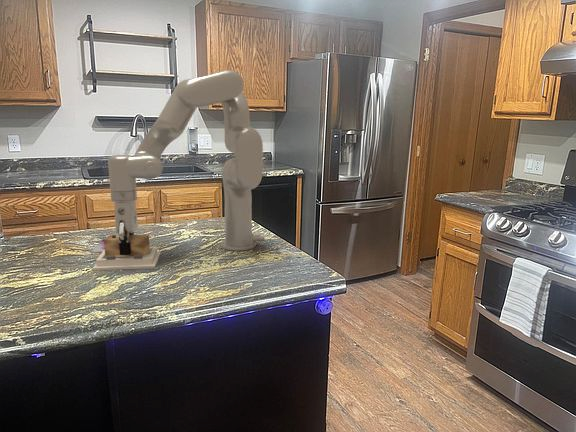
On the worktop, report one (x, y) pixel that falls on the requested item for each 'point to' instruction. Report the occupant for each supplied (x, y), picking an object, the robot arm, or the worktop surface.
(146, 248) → the door panel
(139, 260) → the cabinet frame
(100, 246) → the smartphone
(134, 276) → the worktop surface
